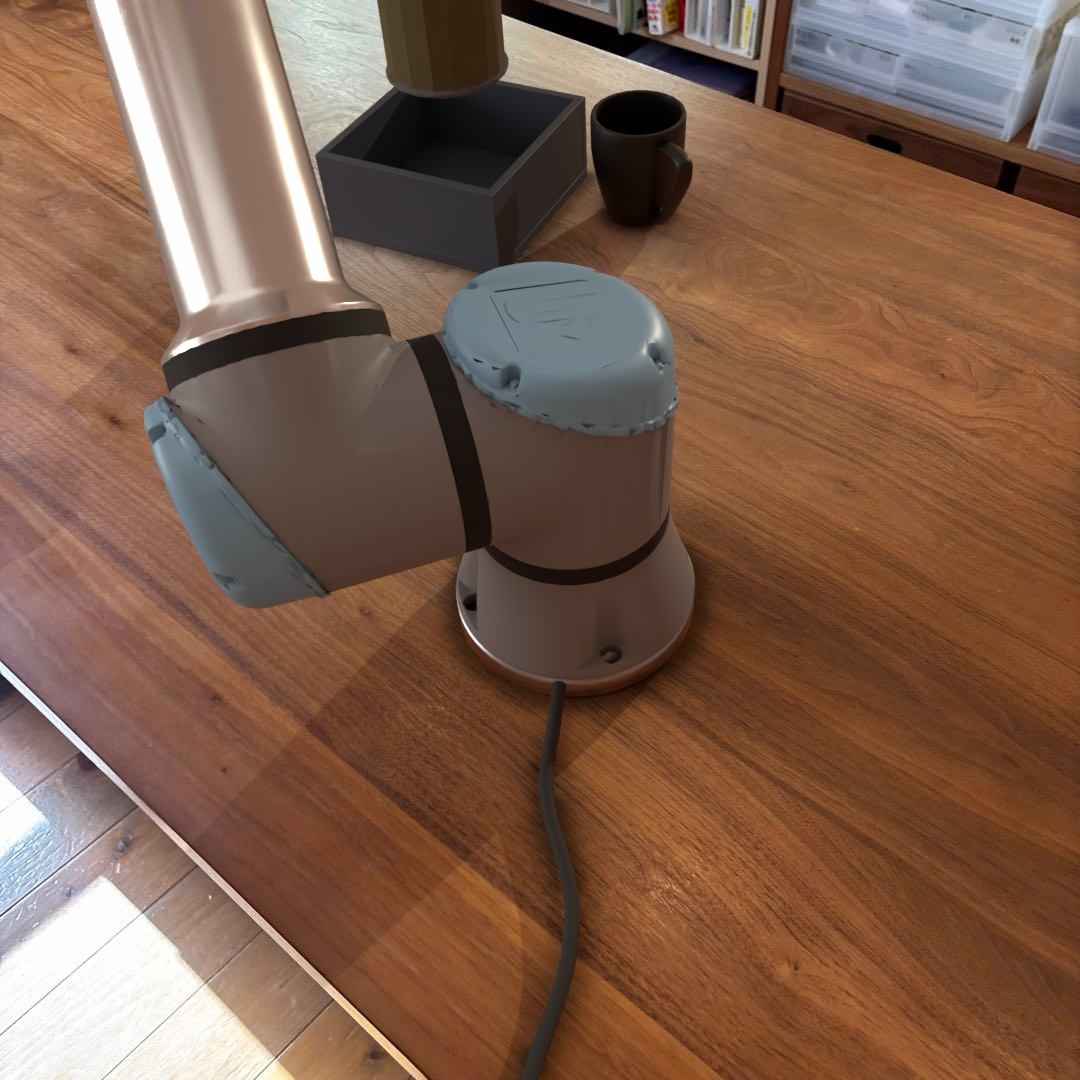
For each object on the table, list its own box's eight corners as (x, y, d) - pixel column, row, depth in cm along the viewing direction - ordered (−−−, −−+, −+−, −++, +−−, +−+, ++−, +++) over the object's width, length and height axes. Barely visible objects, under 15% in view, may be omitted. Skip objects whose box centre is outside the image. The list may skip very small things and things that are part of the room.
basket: (500, 278, 96) (492, 195, 90) (332, 234, 102) (314, 154, 96) (587, 176, 106) (585, 96, 100) (429, 142, 112) (418, 64, 106)
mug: (638, 268, 96) (639, 167, 89) (577, 201, 103) (573, 104, 96) (720, 240, 98) (728, 140, 91) (654, 177, 105) (657, 80, 98)
